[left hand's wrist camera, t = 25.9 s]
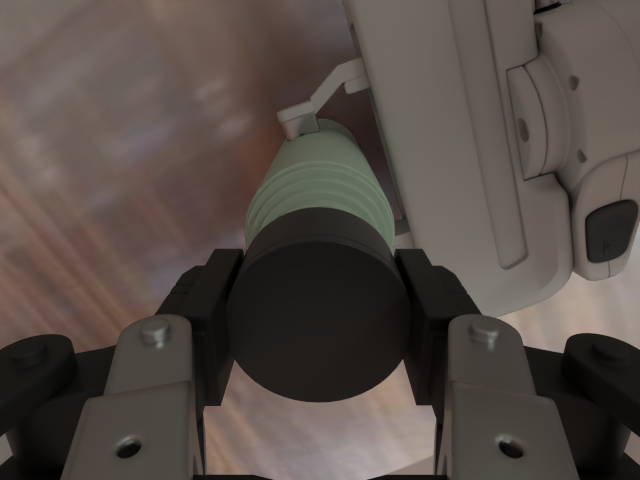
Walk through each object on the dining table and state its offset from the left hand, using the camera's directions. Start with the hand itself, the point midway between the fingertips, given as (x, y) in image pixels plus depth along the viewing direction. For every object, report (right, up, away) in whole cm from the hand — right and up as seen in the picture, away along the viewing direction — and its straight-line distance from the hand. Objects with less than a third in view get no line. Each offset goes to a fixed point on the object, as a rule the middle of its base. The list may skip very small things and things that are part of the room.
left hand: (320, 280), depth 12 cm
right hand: (-1, +4, +11) cm, 11 cm away
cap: (0, -1, -2) cm, 2 cm away
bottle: (0, +6, +16) cm, 17 cm away
